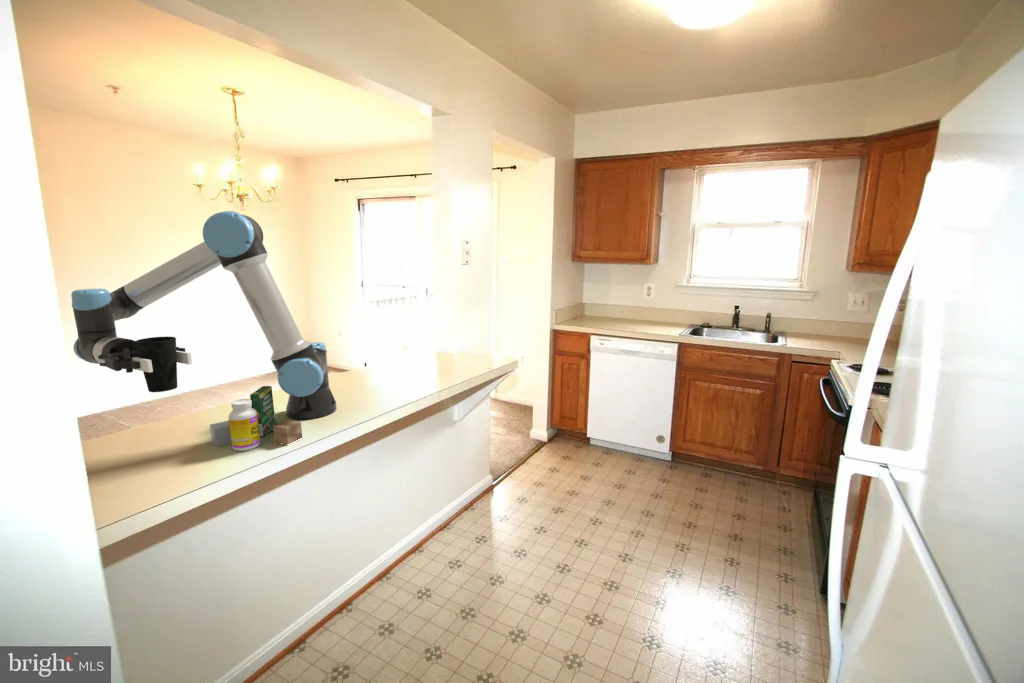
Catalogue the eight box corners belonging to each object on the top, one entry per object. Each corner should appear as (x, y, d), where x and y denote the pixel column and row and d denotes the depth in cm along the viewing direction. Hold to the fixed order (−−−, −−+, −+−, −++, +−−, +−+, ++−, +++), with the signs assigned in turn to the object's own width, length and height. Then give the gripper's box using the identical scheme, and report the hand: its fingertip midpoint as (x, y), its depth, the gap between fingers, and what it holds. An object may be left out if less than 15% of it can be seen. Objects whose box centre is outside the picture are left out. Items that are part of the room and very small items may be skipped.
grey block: (232, 436, 134) (230, 420, 133) (236, 441, 131) (234, 424, 130) (211, 441, 131) (209, 424, 130) (216, 446, 127) (213, 429, 126)
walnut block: (289, 436, 134) (287, 419, 133) (302, 438, 132) (300, 422, 131) (274, 442, 130) (272, 425, 129) (288, 445, 128) (286, 428, 127)
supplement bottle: (255, 451, 124) (249, 404, 122) (228, 452, 123) (222, 406, 121) (264, 441, 131) (259, 397, 128) (238, 442, 130) (233, 398, 127)
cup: (189, 384, 116) (183, 336, 113) (168, 393, 108) (161, 342, 106) (158, 384, 115) (150, 336, 113) (134, 393, 108) (126, 342, 105)
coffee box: (264, 438, 133) (259, 393, 130) (253, 438, 133) (248, 393, 130) (277, 427, 141) (272, 385, 138) (267, 427, 141) (262, 385, 138)
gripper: (166, 358, 128) (217, 368, 118) (70, 376, 110) (120, 389, 100) (162, 331, 126) (213, 338, 116) (64, 345, 109) (114, 355, 98)
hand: (170, 362), depth 108 cm, fingers closed on cup, 8 cm apart
